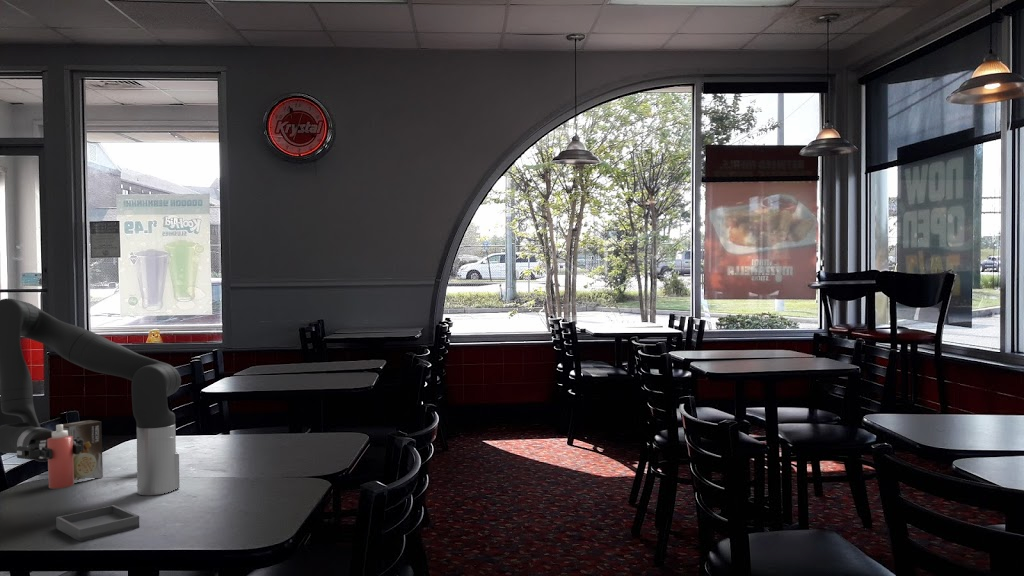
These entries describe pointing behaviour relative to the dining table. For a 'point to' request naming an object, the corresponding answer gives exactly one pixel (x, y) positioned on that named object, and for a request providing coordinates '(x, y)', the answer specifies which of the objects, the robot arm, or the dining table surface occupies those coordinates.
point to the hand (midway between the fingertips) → (64, 452)
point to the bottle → (60, 459)
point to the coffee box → (87, 449)
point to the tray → (97, 522)
